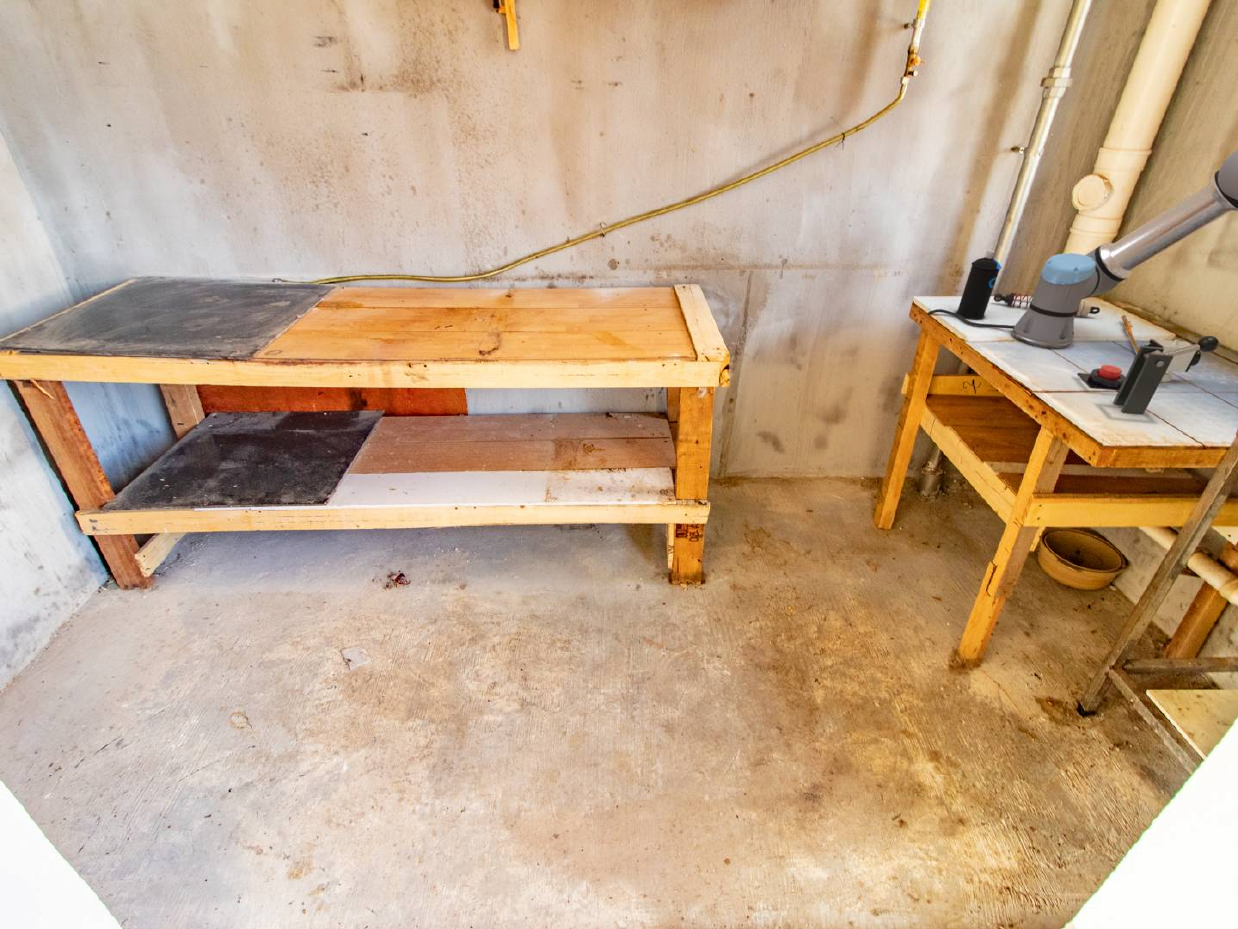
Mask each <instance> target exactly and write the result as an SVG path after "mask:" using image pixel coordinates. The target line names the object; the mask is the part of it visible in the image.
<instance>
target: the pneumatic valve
mask: <svg viewBox="0 0 1238 929" xmlns="http://www.w3.org/2000/svg"><path fill="white" fill-rule="evenodd" d="M1191 345H1194V344H1193V343H1192V342H1190V341H1186V340H1185V341H1184V340H1182V341H1181V340H1180V339H1174V340H1172V339H1155V338H1154V339H1152V338H1150V340H1149V342H1148V343H1146V344H1144V345H1143V346H1148V347H1161V348H1163V349H1164V351H1163V353H1165V352H1168V351H1172V350H1176V349H1180V348H1184V347H1187V346H1191ZM1201 357H1202V352H1201V351H1200V350H1196V351H1193V352H1189V353H1185V354H1181V355H1177V356H1174V357H1173V359H1172V361H1171V363H1170V365H1169V367H1168V369H1167V370H1166V372H1165V374H1164V376H1163V378H1162V380H1161V382H1160V383H1171V381H1172V378H1173V377H1172V374H1171V373H1172V372H1180V373H1181V372H1182V373H1188V372H1189V370H1190V369H1191V368H1192V367H1195V366H1196V365H1198V364H1199V362H1200V360H1201Z"/></svg>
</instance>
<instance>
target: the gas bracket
mask: <svg viewBox="0 0 1238 929" xmlns="http://www.w3.org/2000/svg"><path fill="white" fill-rule="evenodd" d="M1138 349H1139V351H1138V353H1137V355H1136V354H1135V357H1134V359H1133V361H1132V363H1131V365H1130V367H1129V369H1128V371H1127V373H1126V375H1125V379H1124V381H1123V383H1122V385H1121V387H1120V389H1119V391H1118V390H1117V394H1116V396H1115V397H1114V400H1113V402H1112V404H1113V405H1114V406H1121V407H1122V408H1121V409H1120V412H1121V413H1122V414H1130V415H1141V416H1143V415H1145V412H1146V410H1147V408H1148V406H1149V405H1150V403H1151V400H1152V399H1153V397H1154V395H1155V393H1156V391H1157V390H1158V387H1159V385H1160V384H1161V383H1162V382H1161V380H1162V378H1163V376H1164V374H1165V372H1167V371H1166V370H1167V369H1168V367H1169V365H1170V363H1171V361H1172V359H1173V357H1174V356H1172V355H1168V354H1155V353H1150V354H1149V356H1148V358H1147V360H1146V362H1145V364H1144V355H1143V354H1145V353H1149V352H1153V351H1156V350H1159V351H1160V352H1161V353H1163V351H1164V349H1163V348H1161V347H1148V346H1144V345H1140V347H1139V348H1138Z"/></svg>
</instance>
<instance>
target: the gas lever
mask: <svg viewBox="0 0 1238 929" xmlns="http://www.w3.org/2000/svg"><path fill="white" fill-rule="evenodd" d="M1219 346H1220V340H1219V339H1218V338H1217V337H1216V336H1214V335H1206V336H1202V337H1201V338H1200V339H1199V340H1198V341H1197V343H1196V344H1193V345H1191V346H1187V347H1184V348H1180V349H1176V350H1172V351H1168V352H1165V353H1161V352H1160V351H1159V350H1156V351H1153V352H1149V353H1145V354H1143V355H1144V364H1145V362H1146V360H1147V358H1148V356H1149V354H1150V353H1155V354H1168V355H1172V356H1177V355H1181V354H1185V353H1189V352H1193V351H1196V350H1200V352H1201V353H1206V354H1208V353H1212V352H1215V351H1216V350H1217V349H1218V348H1219Z"/></svg>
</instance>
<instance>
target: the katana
mask: <svg viewBox="0 0 1238 929" xmlns="http://www.w3.org/2000/svg"><path fill="white" fill-rule="evenodd" d="M1127 318H1128V317H1127V315H1122V316H1121V319H1122V322H1123V325H1124V329H1123V330H1124V331H1125V334H1126V336H1128V338H1129V340H1130V343H1131V345H1132V348H1133V350H1134V352H1135V356H1136V355H1137V353H1138V351H1139V349H1140V348H1139V347H1138V344H1137V342H1136V340H1135V337H1134V335H1133V331H1132V330H1133V325H1132V323H1131V321H1130V320H1128V319H1127Z"/></svg>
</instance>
